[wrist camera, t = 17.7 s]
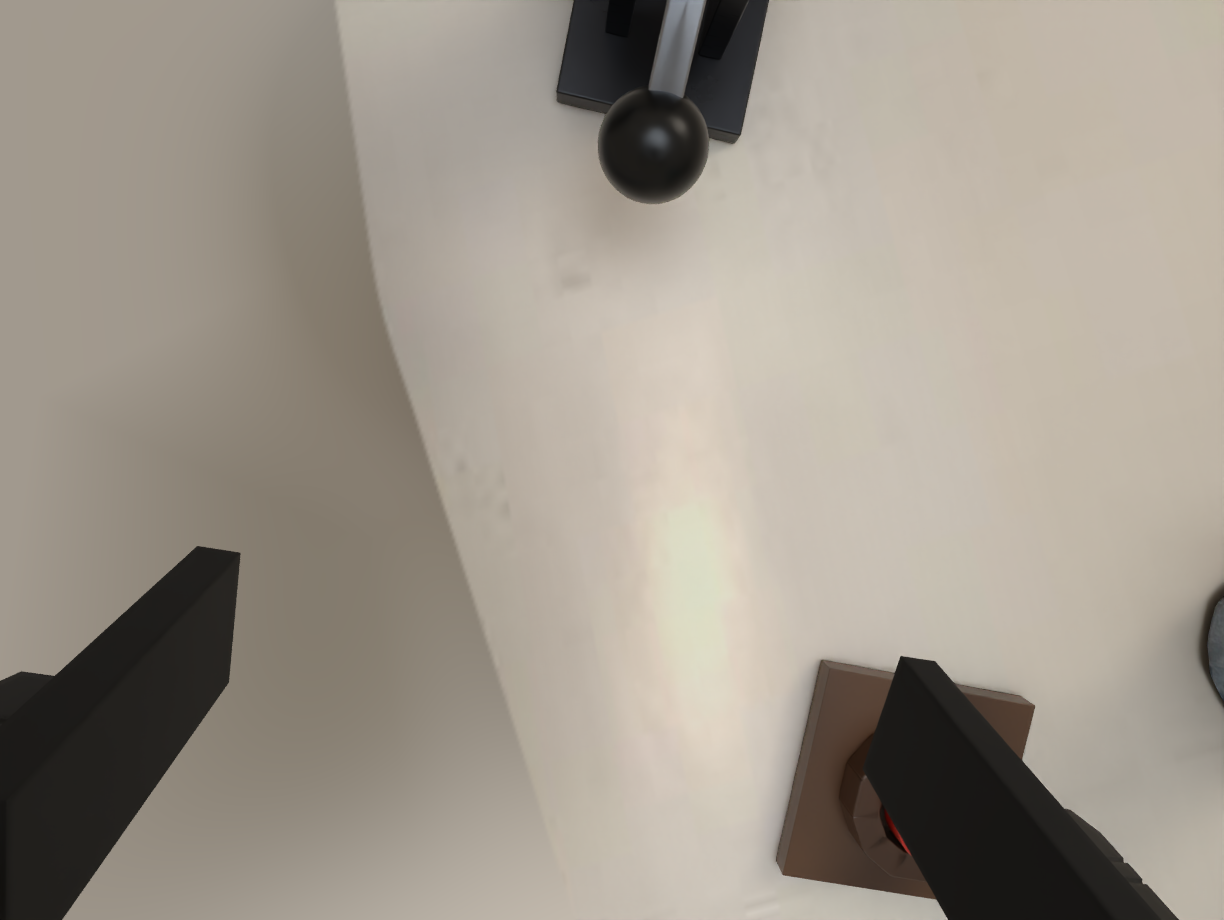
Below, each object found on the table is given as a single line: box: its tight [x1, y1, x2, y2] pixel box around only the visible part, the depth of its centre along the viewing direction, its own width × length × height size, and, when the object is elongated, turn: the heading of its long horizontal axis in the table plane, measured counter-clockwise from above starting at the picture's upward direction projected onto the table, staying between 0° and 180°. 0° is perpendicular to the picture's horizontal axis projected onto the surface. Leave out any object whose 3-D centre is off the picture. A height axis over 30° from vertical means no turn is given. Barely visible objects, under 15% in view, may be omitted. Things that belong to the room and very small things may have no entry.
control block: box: [776, 660, 1035, 900], centre depth 37 cm, size 10×10×3 cm
